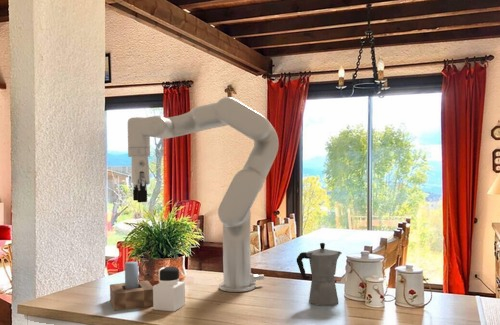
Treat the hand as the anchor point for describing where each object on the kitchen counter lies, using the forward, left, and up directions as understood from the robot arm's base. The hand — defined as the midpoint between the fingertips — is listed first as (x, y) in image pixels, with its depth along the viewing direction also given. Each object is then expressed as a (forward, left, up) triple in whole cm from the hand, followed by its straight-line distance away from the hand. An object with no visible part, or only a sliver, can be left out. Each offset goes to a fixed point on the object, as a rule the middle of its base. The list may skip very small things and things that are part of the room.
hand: (140, 201), depth 168 cm
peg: (+6, +18, -30) cm, 35 cm away
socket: (+6, +18, -30) cm, 36 cm away
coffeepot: (-47, +43, -31) cm, 71 cm away
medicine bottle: (-4, +28, -31) cm, 42 cm away
